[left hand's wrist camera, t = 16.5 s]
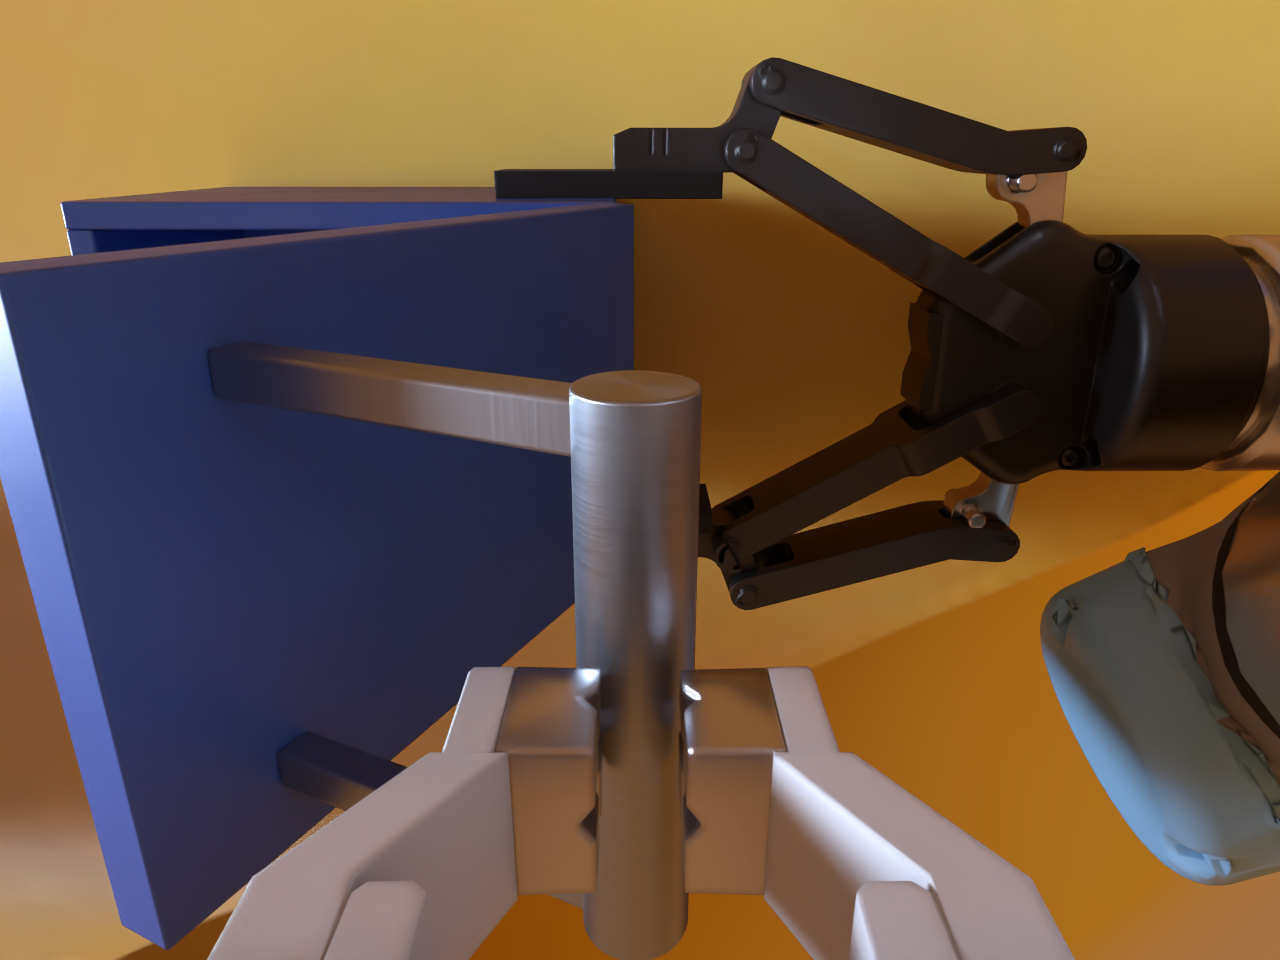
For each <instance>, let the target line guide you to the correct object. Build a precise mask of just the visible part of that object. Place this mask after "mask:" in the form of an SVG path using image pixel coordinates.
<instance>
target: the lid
mask: <svg viewBox="0 0 1280 960" xmlns="http://www.w3.org/2000/svg"><path fill="white" fill-rule="evenodd" d="M701 411H702V388H701V386H700V384H699V383H698V382H697V381H695V380H693V379H691V378H688V377H685V376H682V375H678V374H673V373H667V372H659V371H646V370H634V205H633V204H619V203H593V204H583V205H573V206H563V207H553V208H543V209H533V210H523V211H513V212H503V213H493V214H483V215H473V216H463V217H453V218H443V219H433V220H423V221H413V222H403V223H393V224H383V225H373V226H363V227H353V228H343V229H333V230H323V231H313V232H303V233H293V234H283V235H273V236H263V237H253V238H243V239H233V240H223V241H213V242H203V243H193V244H183V245H173V246H163V247H153V248H143V249H133V250H123V251H113V252H103V253H93V254H83V255H73V256H63V257H53V258H43V259H33V260H23V261H13V262H3V263H0V477H1V481H2V484H3V488H4V492H5V495H6V499H7V503H8V506H9V510H10V514H11V517H12V521H13V525H14V528H15V532H16V536H17V540H18V543H19V547H20V551H21V554H22V558H23V562H24V565H25V569H26V573H27V576H28V580H29V584H30V587H31V591H32V595H33V599H34V602H35V606H36V610H37V613H38V617H39V621H40V624H41V628H42V632H43V635H44V639H45V643H46V646H47V650H48V654H49V658H50V661H51V665H52V669H53V672H54V676H55V680H56V683H57V687H58V691H59V694H60V698H61V702H62V705H63V709H64V713H65V717H66V720H67V724H68V728H69V731H70V735H71V739H72V742H73V746H74V750H75V753H76V757H77V761H78V764H79V768H80V772H81V776H82V779H83V783H84V787H85V790H86V794H87V798H88V801H89V805H90V809H91V812H92V816H93V820H94V823H95V827H96V831H97V834H98V838H99V842H100V846H101V849H102V853H103V857H104V860H105V864H106V868H107V871H108V875H109V879H110V882H111V886H112V890H113V893H114V897H115V901H116V905H117V908H118V912H119V916H120V919H121V923H122V925H123V926H125V927H126V928H128V929H130V930H132V931H134V932H135V933H137V934H139V935H141V936H142V937H144V938H146V939H148V940H150V941H151V942H153V943H155V944H157V945H159V946H160V947H162V948H164V949H166V950H169V949H171V948H172V947H173V946H174V945H175V944H177V943H178V942H179V941H180V940H181V939H182V938H184V937H185V936H186V935H187V934H188V933H189V932H191V931H192V930H193V929H194V928H195V927H196V926H198V925H199V924H200V923H201V922H202V921H203V920H205V919H206V918H207V917H208V916H209V915H211V914H212V913H213V912H214V911H215V910H216V909H218V908H219V907H220V906H221V905H222V904H223V903H225V902H226V901H227V900H228V899H229V898H230V897H232V896H233V895H234V894H235V893H236V892H237V891H239V890H240V889H241V888H242V887H243V886H244V885H246V884H247V883H248V882H249V881H250V880H251V878H252V877H253V876H254V875H255V874H257V873H258V872H260V871H261V870H263V869H264V868H265V867H267V866H268V865H269V864H270V863H271V862H272V861H274V860H275V859H276V858H277V857H278V856H279V855H281V854H282V853H283V852H284V851H285V850H286V849H288V848H289V847H290V846H291V845H292V844H293V843H295V842H296V841H297V840H298V839H299V838H301V837H302V836H303V835H304V834H305V833H306V832H308V831H309V830H310V829H311V828H312V827H313V826H315V825H316V824H317V823H318V822H319V821H320V820H322V819H323V818H324V817H325V816H326V815H327V814H329V813H330V812H331V811H332V810H333V809H334V808H336V807H337V808H339V809H342V810H344V811H347V810H348V809H349V808H351V807H352V806H354V805H355V804H357V803H358V802H359V801H361V800H362V799H364V798H365V797H367V796H368V795H369V794H371V793H372V792H374V791H375V790H377V789H378V788H379V787H381V786H382V785H384V784H385V783H387V782H388V781H389V780H391V779H392V778H394V777H395V776H396V775H398V774H399V773H401V772H402V771H404V770H405V769H406V768H408V767H405V766H402V765H400V764H397V763H394V762H392V761H391V760H392V759H393V758H394V757H395V756H396V755H398V754H399V753H400V752H401V751H402V750H403V749H405V748H406V747H407V746H408V745H409V744H410V743H412V742H413V741H414V740H415V739H416V738H417V737H419V736H420V735H421V734H422V733H423V732H424V731H426V730H427V729H428V728H429V727H430V726H431V725H433V724H434V723H435V722H436V721H437V720H438V719H440V718H441V717H442V716H443V715H444V714H445V713H447V712H448V711H449V710H450V709H451V708H452V707H454V706H455V705H456V704H457V703H458V702H459V699H460V696H461V693H462V690H463V687H464V684H465V681H466V678H467V675H468V673H469V671H470V670H471V669H473V668H474V667H500V666H502V665H503V664H504V663H505V662H506V661H507V660H509V659H510V658H511V657H512V656H513V655H514V654H516V653H517V652H518V651H519V650H520V649H521V648H523V647H524V646H525V645H526V644H527V643H528V642H530V641H531V640H532V639H533V638H534V637H535V636H537V635H538V634H539V633H540V632H541V631H542V630H544V629H545V628H546V627H547V626H548V625H549V624H551V623H552V622H553V621H554V620H555V619H556V618H558V617H559V616H560V615H561V614H562V613H563V612H565V611H566V610H567V609H568V608H569V607H570V606H572V605H573V604H574V603H575V622H576V658H577V668H588V669H601V684H602V713H601V730H600V731H601V732H602V734H603V785H602V811H601V817H600V818H599V842H600V846H599V861H598V877H597V892H596V893H569V894H548V895H550V896H553V897H555V898H558V899H560V900H563V901H565V902H568V903H570V904H572V905H575V906H577V907H580V908H582V909H583V910H584V925H585V929H586V932H587V934H588V936H589V937H590V939H591V940H592V942H593V943H594V944H595V945H596V946H597V947H598V948H599V949H600V950H601V951H603V952H604V953H606V954H607V955H609V956H611V957H614V958H617V959H620V960H651V959H655V958H657V957H660V956H662V955H664V954H666V953H667V952H669V951H670V950H671V949H672V948H674V947H675V946H676V944H677V943H678V942H679V941H680V940H681V938H682V936H683V935H684V932H685V930H686V927H687V921H688V893H685V883H684V869H683V855H682V818H681V817H680V805H679V783H678V769H679V732H680V731H681V724H680V707H679V689H680V670H695V633H696V596H697V559H698V522H699V485H700V448H701Z"/></svg>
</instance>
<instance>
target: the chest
mask: <svg viewBox="0 0 1280 960" xmlns="http://www.w3.org/2000/svg"><path fill="white" fill-rule="evenodd" d="M593 203H619V199H615V198H496V194H495V187H223V188H211V189H200V190H188V191H177V192H166V193H154V194H143V195H132V196H120V197H109V198H98V199H86V200H75V201H64V202H62V203H61V209H62V213H63V218H64V222H65V227H66V228H67V229H69V230H68V231H67V236H68V241H69V245H70V250H71V254H72V256H73V255H83V254H93V253H103V252H113V251H123V250H133V249H143V248H153V247H163V246H173V245H183V244H193V243H203V242H213V241H223V240H233V239H243V238H253V237H263V236H273V235H283V234H293V233H303V232H313V231H323V230H333V229H343V228H353V227H363V226H373V225H383V224H393V223H403V222H413V221H423V220H433V219H443V218H453V217H463V216H473V215H483V214H493V213H503V212H513V211H523V210H533V209H543V208H553V207H563V206H573V205H583V204H593Z"/></svg>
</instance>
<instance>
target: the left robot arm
mask: <svg viewBox="0 0 1280 960" xmlns="http://www.w3.org/2000/svg"><path fill="white" fill-rule="evenodd" d="M679 707H680V724H681V731H680V732H679V769H678V783H679V805H680V817H681V818H682V855H683V869H684V883H685V893H711V894H746V895H764V899H765V900H766V902H767V903H768V904H769V905H770V906H771V908H772V909H773V910H774V911H775V913H776V914H777V915H778V916H779V918H780V919H781V920H782V921H783V923H784V924H785V925H786V926H787V927H788V929H789V930H790V931H791V932H792V934H793V935H794V936H795V937H796V938H797V940H798V941H799V942H800V943H801V945H802V946H803V947H804V948H805V950H806V951H807V952H808V953H809V954H810V956H811V957H812V958H813V959H814V960H1075V959H1074V957H1073V955H1072V953H1071V951H1070V950H1069V948H1068V946H1067V944H1066V942H1065V940H1064V938H1063V936H1062V935H1061V933H1060V931H1059V929H1058V927H1057V925H1056V923H1055V921H1054V920H1053V918H1052V916H1051V914H1050V912H1049V910H1048V908H1047V907H1046V905H1045V903H1044V901H1043V899H1042V897H1041V895H1040V894H1039V892H1038V890H1037V888H1036V886H1035V884H1034V882H1033V881H1032V879H1031V878H1030V877H1029V876H1027V875H1026V874H1024V873H1023V872H1022V871H1020V870H1019V869H1017V868H1016V867H1014V866H1013V865H1012V864H1010V863H1009V862H1007V861H1006V860H1004V859H1003V858H1002V857H1000V856H999V855H997V854H996V853H995V852H993V851H992V850H990V849H989V848H987V847H986V846H985V845H983V844H982V843H980V842H979V841H977V840H976V839H975V838H973V837H972V836H970V835H969V834H968V833H966V832H965V831H963V830H962V829H960V828H959V827H958V826H956V825H955V824H953V823H952V822H950V821H949V820H948V819H946V818H945V817H943V816H942V815H941V814H939V813H938V812H936V811H935V810H933V809H932V808H931V807H929V806H928V805H926V804H925V803H923V802H922V801H921V800H919V799H918V798H916V797H915V796H914V795H912V794H911V793H909V792H908V791H906V790H905V789H904V788H902V787H901V786H899V785H898V784H896V783H895V782H894V781H892V780H891V779H889V778H888V777H887V776H885V775H884V774H882V773H881V772H879V771H878V770H877V769H875V768H874V767H872V766H871V765H869V764H868V763H867V762H865V761H864V760H862V759H861V758H860V757H858V756H857V755H855V754H854V753H852V752H839V749H838V746H837V743H836V740H835V737H834V734H833V731H832V728H831V725H830V722H829V719H828V716H827V713H826V710H825V707H824V704H823V702H822V699H821V696H820V693H819V690H818V687H817V684H816V681H815V678H814V675H813V672H812V670H811V669H810V668H809V667H807V666H798V667H772V668H746V669H706V670H680V689H679ZM601 713H602V684H601V669H588V668H538V667H517V668H514V667H474V668H473V669H471V670H470V671H469V673H468V675H467V678H466V681H465V684H464V687H463V690H462V693H461V696H460V699H459V702H458V705H457V708H456V711H455V714H454V717H453V720H452V723H451V726H450V729H449V732H448V735H447V738H446V741H445V744H444V747H443V750H442V752H429V753H428V754H426V755H425V756H424V757H422V758H421V759H419V760H418V761H416V762H415V763H414V764H412V765H411V766H409V767H408V768H406V769H405V770H404V771H402V772H401V773H399V774H398V775H396V776H395V777H394V778H392V779H391V780H389V781H388V782H387V783H385V784H384V785H382V786H381V787H379V788H378V789H377V790H375V791H374V792H372V793H371V794H369V795H368V796H367V797H365V798H364V799H362V800H361V801H359V802H358V803H357V804H355V805H354V806H352V807H351V808H349V809H348V810H347V811H345V812H344V813H342V814H341V815H340V816H338V817H337V818H335V819H334V820H332V821H331V822H330V823H328V824H327V825H325V826H324V827H322V828H321V829H320V830H318V831H317V832H315V833H314V834H312V835H311V836H310V837H308V838H307V839H305V840H304V841H302V842H301V843H300V844H298V845H297V846H295V847H294V848H293V849H291V850H290V851H288V852H287V853H285V854H284V855H283V856H281V857H280V858H278V859H277V860H275V861H274V862H273V863H271V864H270V865H268V866H267V867H265V868H264V869H263V870H261V871H260V872H258V873H257V874H255V875H254V876H253V877H252V878H251V880H250V881H249V883H248V885H247V887H246V889H245V891H244V893H243V894H242V896H241V898H240V900H239V902H238V904H237V905H236V907H235V909H234V911H233V913H232V915H231V917H230V918H229V920H228V922H227V924H226V926H225V928H224V930H223V931H222V933H221V935H220V937H219V939H218V941H217V943H216V944H215V946H214V948H213V950H212V952H211V954H210V955H209V957H208V959H207V960H468V959H469V958H470V957H471V956H472V955H473V953H474V952H475V951H476V950H477V948H478V947H479V946H480V945H481V944H482V942H483V941H484V940H485V939H486V937H487V936H488V935H489V934H490V932H491V931H492V930H493V929H494V928H495V926H496V925H497V924H498V923H499V921H500V920H501V919H502V918H503V917H504V915H505V914H506V913H507V912H508V910H509V909H510V908H511V907H512V906H513V904H514V903H515V902H516V901H517V895H534V894H569V893H596V892H597V877H598V861H599V846H600V842H599V818H600V817H601V811H602V785H603V734H602V732H601V731H600V730H601Z"/></svg>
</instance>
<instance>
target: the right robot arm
mask: <svg viewBox="0 0 1280 960" xmlns="http://www.w3.org/2000/svg"><path fill="white" fill-rule="evenodd" d="M780 116H782V117H785V118H788V119H791V120H795V121H798V122H801V123H804V124H807V125H810V126H814V127H817V128H820V129H823V130H826V131H830V132H833V133H836V134H839V135H842V136H846V137H849V138H852V139H855V140H858V141H862V142H865V143H868V144H871V145H874V146H878V147H881V148H884V149H887V150H890V151H894V152H897V153H900V154H903V155H906V156H910V157H913V158H916V159H919V160H922V161H926V162H929V163H932V164H935V165H938V166H942V167H945V168H948V169H952V170H956V171H961V172H969V173H979V174H986V188H987V191H988V193H989V194H990V195H991V196H992V197H993V198H995V199H997V200H1001V201H1006V202H1008V203H1010V204H1011V205H1012V206H1013V207H1014V208H1015V209H1016V212H1017V216H1018V222H1016V223H1014V224H1013V225H1011V226H1010V227H1008V228H1007V229H1005V230H1004V231H1002V232H1001V233H999V234H998V235H996V236H995V237H994V238H992V239H991V240H989V241H988V242H986V243H985V244H983V245H982V246H980V247H979V248H977V249H976V250H975V251H973V252H972V253H970V254H969V255H967V256H966V257H964V258H963V257H961V256H959V255H958V254H956V253H955V252H953V251H951V250H950V249H948V248H946V247H944V246H942V245H940V244H938V243H936V242H934V241H933V240H931V239H929V238H928V237H926V236H925V235H923V234H921V233H920V232H918V231H917V230H915V229H913V228H912V227H910V226H909V225H907V224H905V223H904V222H902V221H901V220H899V219H897V218H896V217H894V216H893V215H891V214H890V213H888V212H886V211H885V210H883V209H882V208H880V207H878V206H877V205H875V204H874V203H872V202H870V201H869V200H867V199H866V198H864V197H862V196H861V195H859V194H858V193H856V192H854V191H853V190H851V189H850V188H848V187H846V186H845V185H843V184H842V183H840V182H839V181H837V180H835V179H834V178H832V177H831V176H829V175H827V174H826V173H824V172H823V171H821V170H819V169H818V168H816V167H815V166H813V165H811V164H810V163H808V162H807V161H805V160H803V159H802V158H800V157H799V156H797V155H795V154H794V153H792V152H791V151H789V150H788V149H786V148H784V147H783V146H781V145H780V144H778V143H776V142H775V141H773V140H772V139H771V138H772V135H773V133H774V130H775V128H776V125H777V122H778V120H779V117H780ZM1086 150H1087V142H1086V138H1085V136H1084V134H1083V133H1082V132H1081V131H1080V130H1078V129H1077V128H1072V127H1058V128H1040V129H1025V130H1012V131H1006V130H1002V129H999V128H996V127H993V126H990V125H987V124H984V123H981V122H977V121H974V120H971V119H968V118H965V117H962V116H959V115H956V114H952V113H949V112H946V111H943V110H940V109H937V108H934V107H931V106H928V105H924V104H921V103H918V102H915V101H912V100H909V99H906V98H903V97H899V96H896V95H893V94H890V93H887V92H884V91H881V90H878V89H874V88H871V87H868V86H865V85H862V84H859V83H856V82H853V81H849V80H846V79H843V78H840V77H837V76H834V75H831V74H828V73H824V72H821V71H818V70H815V69H812V68H809V67H806V66H803V65H800V64H796V63H793V62H790V61H787V60H784V59H781V58H769V59H766V60H763V61H762V62H760V63H759V64H757V65H756V66H754V67H753V68H752V69H751V70H749V71H748V72H747V73H746V74H745V76H744V78H743V80H742V86H741V89H740V92H739V95H738V98H737V100H736V103H735V106H734V108H733V111H732V113H731V115H730V117H729V118H728V119H727V120H726V121H725V122H724V123H723V124H722V125H720V126H718V127H715V128H629V129H627V130H624V131H622V132H620V133H617V134H615V135H613V169H505V170H498V171H494V175H495V194H496V198H615V199H722V185H723V172H733V173H735V174H736V175H738V176H739V177H741V178H743V179H744V180H746V181H748V182H749V183H751V184H753V185H754V186H756V187H757V188H759V189H761V190H762V191H764V192H766V193H767V194H769V195H770V196H772V197H774V198H775V199H777V200H779V201H780V202H782V203H784V204H785V205H787V206H788V207H790V208H792V209H793V210H795V211H797V212H798V213H800V214H801V215H803V216H805V217H806V218H808V219H810V220H811V221H813V222H814V223H816V224H818V225H819V226H821V227H823V228H824V229H826V230H828V231H829V232H831V233H832V234H834V235H836V236H837V237H839V238H841V239H842V240H844V241H845V242H847V243H849V244H850V245H852V246H854V247H855V248H857V249H859V250H860V251H862V252H863V253H865V254H867V255H868V256H870V257H872V258H873V259H875V260H876V261H878V262H880V263H881V264H883V265H885V266H886V267H888V268H889V269H890V270H892V271H893V272H895V273H897V274H898V275H900V276H901V277H903V278H905V279H906V280H908V281H910V282H911V283H913V284H914V285H916V286H918V287H919V288H921V289H923V290H922V292H921V293H920V295H919V297H918V299H917V302H916V303H910V310H909V319H908V330H909V336H910V343H911V352H910V355H909V357H908V360H907V363H906V365H905V368H904V371H903V375H902V384H901V395H902V396H903V397H904V398H905V399H906V400H905V401H903V402H902V403H900V404H898V405H896V406H894V407H892V408H890V409H888V410H886V411H884V412H883V413H881V414H880V415H878V416H877V417H876V419H875V420H874V422H873V423H872V424H871V425H869V426H867V427H865V428H863V429H862V430H860V431H858V432H856V433H854V434H852V435H850V436H848V437H846V438H844V439H842V440H840V441H839V442H837V443H835V444H833V445H831V446H829V447H827V448H825V449H823V450H821V451H819V452H817V453H816V454H814V455H812V456H810V457H808V458H806V459H804V460H802V461H800V462H798V463H796V464H794V465H793V466H791V467H789V468H787V469H785V470H783V471H781V472H779V473H777V474H775V475H773V476H772V477H770V478H768V479H766V480H764V481H762V482H760V483H758V484H756V485H754V486H752V487H750V488H749V489H747V490H745V491H743V492H741V493H739V494H737V495H735V496H733V497H731V498H729V499H727V500H726V501H724V502H722V503H720V504H718V505H716V506H715V507H713V508H712V509H711V505H710V501H709V497H708V493H707V488H706V484H700V485H699V522H698V557H705V558H708V559H711V560H713V561H714V562H716V563H717V566H718V567H719V568H720V569H721V571H722V574H723V576H724V579H725V582H726V584H727V587H728V590H729V592H730V597H731V600H732V602H733V604H734V605H735V606H737V607H738V608H740V609H743V610H752V609H756V608H760V607H764V606H768V605H772V604H776V603H780V602H783V601H787V600H791V599H795V598H799V597H803V596H807V595H811V594H815V593H819V592H823V591H827V590H831V589H835V588H839V587H842V586H846V585H850V584H854V583H858V582H862V581H866V580H870V579H874V578H878V577H882V576H886V575H890V574H894V573H897V572H901V571H905V570H909V569H913V568H917V567H921V566H925V565H929V564H933V563H937V562H941V561H945V560H949V559H954V560H971V561H987V562H1004V561H1007V560H1009V559H1011V558H1012V557H1014V556H1015V555H1016V554H1017V552H1018V550H1019V548H1020V540H1019V538H1018V536H1017V534H1016V533H1014V532H1013V531H1012V530H1011V529H1010V528H1009V524H1010V520H1011V516H1012V512H1013V507H1014V503H1015V499H1016V495H1017V491H1018V487H1019V484H1020V483H1024V482H1027V481H1029V480H1031V479H1033V478H1035V477H1037V476H1039V475H1041V474H1044V473H1047V472H1050V471H1055V470H1078V471H1183V470H1191V469H1195V468H1198V467H1201V468H1204V469H1209V470H1214V471H1250V470H1280V235H1237V236H1228V237H1225V238H1222V239H1219V238H1217V237H1213V236H1209V235H1085V234H1083V233H1081V232H1079V231H1077V230H1075V229H1074V228H1072V227H1071V226H1069V225H1068V224H1066V223H1063V211H1064V201H1065V190H1066V179H1067V171H1068V170H1072V169H1073V168H1075V167H1076V166H1078V165H1079V164H1080V162H1081V161H1082V160H1083V158H1084V157H1085V153H1086ZM959 457H963V458H964V459H965V460H967V461H968V462H969V463H971V464H972V465H973V466H975V467H976V468H977V469H979V470H980V471H981V472H980V475H979V477H978V479H977V480H976V481H975V482H974V483H973V484H971V485H969V486H967V487H962V488H957V489H950V490H949V491H947V492H946V495H945V499H944V501H924V502H918V503H913V504H908V505H904V506H900V507H896V508H893V509H889V510H885V511H881V512H877V513H873V514H870V515H866V516H862V517H858V518H854V519H850V520H847V521H843V522H839V523H835V524H831V525H827V526H823V527H820V528H816V529H812V530H808V531H804V532H800V533H797V534H794V533H796V532H798V531H800V530H802V529H804V528H806V527H808V526H810V525H812V524H814V523H815V522H817V521H819V520H821V519H823V518H825V517H827V516H829V515H831V514H833V513H835V512H837V511H839V510H841V509H843V508H845V507H847V506H849V505H851V504H853V503H855V502H857V501H859V500H861V499H863V498H865V497H867V496H869V495H871V494H873V493H875V492H877V491H878V490H880V489H882V488H884V487H886V486H888V485H890V484H892V483H894V482H896V481H898V480H900V479H902V478H904V477H908V476H921V475H925V474H927V473H929V472H931V471H933V470H935V469H937V468H939V467H941V466H943V465H945V464H947V463H949V462H951V461H953V460H955V459H957V458H959ZM792 534H793V535H792ZM1040 635H1041V646H1042V651H1043V656H1044V660H1045V663H1046V667H1047V670H1048V673H1049V676H1050V679H1051V681H1052V684H1053V687H1054V689H1055V692H1056V695H1057V697H1058V700H1059V702H1060V705H1061V707H1062V709H1063V712H1064V714H1065V716H1066V718H1067V720H1068V722H1069V725H1070V727H1071V729H1072V731H1073V733H1074V735H1075V737H1076V739H1077V741H1078V743H1079V745H1080V746H1081V748H1082V750H1083V752H1084V754H1085V756H1086V758H1087V759H1088V761H1089V763H1090V765H1091V767H1092V769H1093V771H1094V772H1095V774H1096V776H1097V778H1098V779H1099V781H1100V782H1101V784H1102V786H1103V787H1104V789H1105V791H1106V792H1107V794H1108V796H1109V797H1110V799H1111V800H1112V802H1113V803H1114V805H1115V806H1116V808H1117V809H1118V811H1119V812H1120V814H1121V815H1122V817H1123V818H1124V819H1125V821H1126V822H1127V824H1128V825H1129V826H1130V828H1131V829H1132V830H1133V832H1134V833H1135V834H1136V835H1137V837H1138V838H1139V839H1140V840H1141V841H1142V843H1143V844H1144V845H1145V846H1146V847H1147V848H1148V849H1149V850H1150V851H1151V852H1152V853H1153V854H1154V855H1155V856H1156V857H1157V858H1158V859H1159V860H1160V861H1161V862H1162V863H1163V864H1164V865H1166V866H1167V867H1169V868H1170V869H1172V870H1173V871H1175V872H1176V873H1178V874H1179V875H1181V876H1183V877H1185V878H1187V879H1190V880H1192V881H1195V882H1197V883H1202V884H1206V885H1228V884H1233V883H1237V882H1240V881H1244V880H1248V879H1252V878H1256V877H1259V876H1263V875H1267V874H1271V873H1274V872H1278V871H1280V472H1278V473H1277V474H1276V475H1275V476H1274V477H1273V478H1272V479H1271V480H1270V481H1268V482H1267V483H1266V484H1265V485H1264V486H1263V487H1262V488H1261V489H1259V490H1258V491H1257V492H1256V493H1254V494H1253V495H1252V496H1251V497H1249V498H1248V499H1247V500H1246V501H1244V502H1243V503H1242V504H1241V505H1239V506H1238V507H1237V508H1236V509H1234V510H1233V511H1232V512H1231V513H1230V514H1229V515H1227V516H1226V517H1225V518H1224V519H1223V520H1222V521H1220V522H1219V523H1217V524H1215V525H1213V526H1211V527H1209V528H1207V529H1205V530H1203V531H1201V532H1198V533H1196V534H1194V535H1192V536H1189V537H1187V538H1185V539H1182V540H1179V541H1176V542H1173V543H1170V544H1168V545H1165V546H1162V547H1159V548H1156V549H1153V550H1150V551H1148V552H1145V548H1144V547H1143V548H1141V549H1138V550H1136V551H1133V552H1130V553H1128V555H1127V557H1126V558H1125V560H1124V561H1123V562H1121V563H1118V564H1116V565H1114V566H1112V567H1109V568H1107V569H1105V570H1103V571H1100V572H1098V573H1096V574H1094V575H1092V576H1089V577H1087V578H1085V579H1083V580H1080V581H1078V582H1076V583H1074V584H1072V585H1069V586H1067V587H1065V588H1063V589H1062V590H1060V591H1059V592H1058V593H1056V594H1055V595H1054V596H1053V597H1052V598H1051V599H1050V600H1049V602H1048V603H1047V605H1046V607H1045V609H1044V611H1043V614H1042V618H1041V625H1040Z"/></svg>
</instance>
